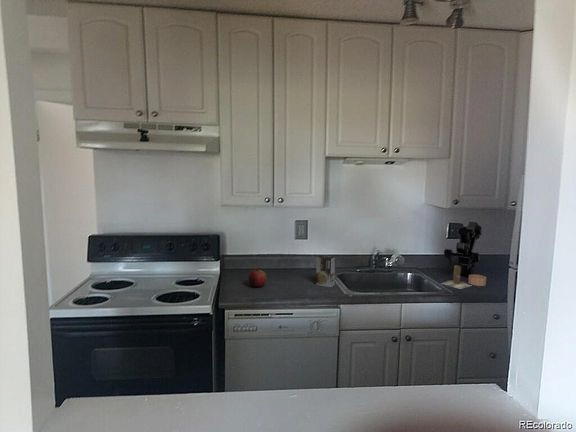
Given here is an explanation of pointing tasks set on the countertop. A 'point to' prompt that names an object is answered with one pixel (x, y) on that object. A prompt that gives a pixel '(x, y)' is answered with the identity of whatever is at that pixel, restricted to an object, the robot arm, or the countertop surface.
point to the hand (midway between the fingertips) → (458, 267)
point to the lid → (456, 279)
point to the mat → (457, 287)
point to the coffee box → (325, 271)
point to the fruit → (257, 277)
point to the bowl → (477, 280)
